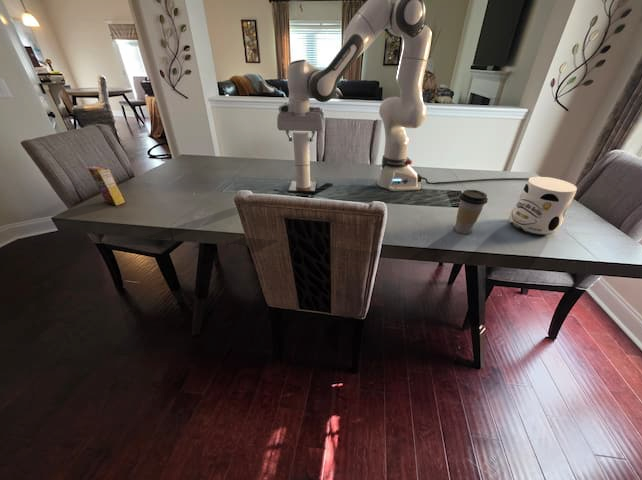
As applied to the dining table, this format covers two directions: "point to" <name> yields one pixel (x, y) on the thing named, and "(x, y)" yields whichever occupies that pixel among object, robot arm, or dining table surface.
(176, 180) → the dining table surface
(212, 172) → the dining table surface
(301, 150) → the cylindrical container
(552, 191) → the milk container
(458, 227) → the coffee cup
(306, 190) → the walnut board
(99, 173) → the candy box
